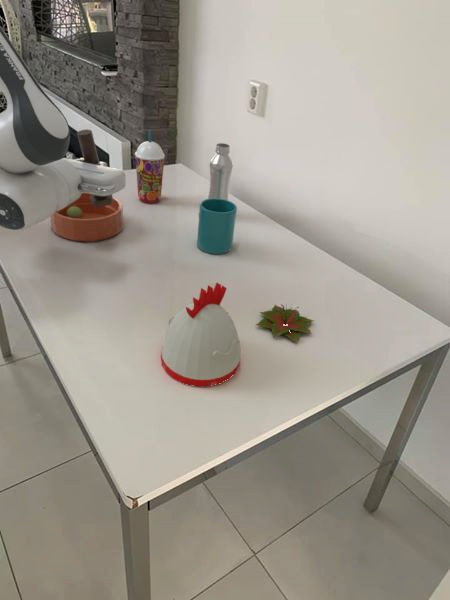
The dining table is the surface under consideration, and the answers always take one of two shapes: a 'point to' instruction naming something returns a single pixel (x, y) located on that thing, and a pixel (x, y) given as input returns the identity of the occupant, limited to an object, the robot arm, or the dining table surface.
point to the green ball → (74, 212)
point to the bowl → (89, 220)
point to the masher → (92, 158)
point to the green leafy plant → (285, 322)
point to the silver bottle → (220, 172)
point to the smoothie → (149, 171)
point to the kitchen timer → (201, 342)
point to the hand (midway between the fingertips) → (94, 163)
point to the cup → (216, 225)
